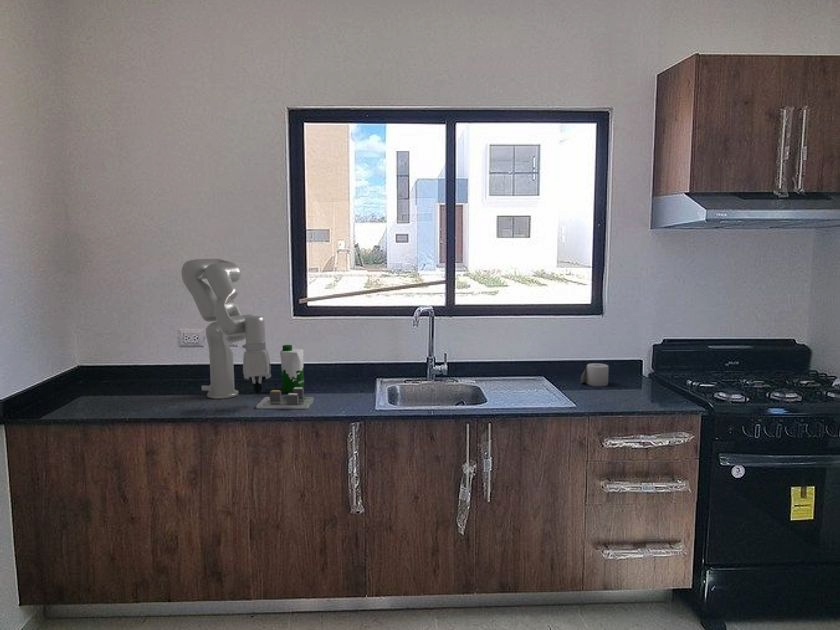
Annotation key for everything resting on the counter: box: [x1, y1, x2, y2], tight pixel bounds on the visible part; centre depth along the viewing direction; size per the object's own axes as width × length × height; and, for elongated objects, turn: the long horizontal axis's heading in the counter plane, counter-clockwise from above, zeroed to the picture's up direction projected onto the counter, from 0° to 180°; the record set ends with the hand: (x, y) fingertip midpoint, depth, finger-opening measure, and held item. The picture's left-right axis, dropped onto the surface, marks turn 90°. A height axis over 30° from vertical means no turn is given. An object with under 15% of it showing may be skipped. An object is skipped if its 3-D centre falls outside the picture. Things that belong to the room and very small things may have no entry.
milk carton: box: [279, 344, 305, 394], centre depth 270 cm, size 9×9×20 cm
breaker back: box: [293, 387, 305, 398], centre depth 255 cm, size 4×2×4 cm, turn 89°
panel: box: [256, 396, 315, 410], centre depth 250 cm, size 20×13×1 cm, turn 89°
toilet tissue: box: [579, 362, 609, 387], centre depth 283 cm, size 9×13×9 cm
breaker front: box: [286, 393, 299, 405], centre depth 245 cm, size 4×2×4 cm, turn 89°
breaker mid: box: [269, 389, 282, 401], centre depth 250 cm, size 4×2×4 cm, turn 89°
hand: (258, 392), depth 249 cm, fingers closed
